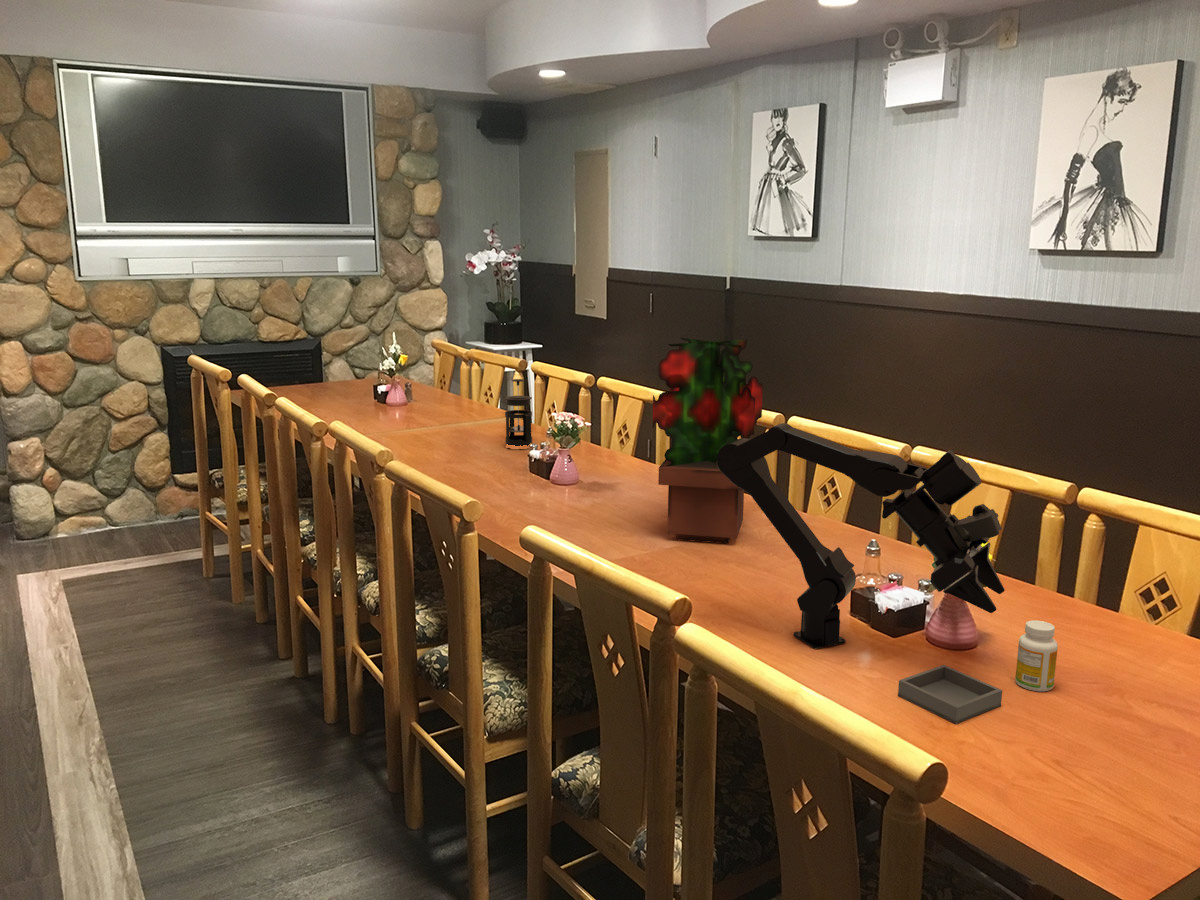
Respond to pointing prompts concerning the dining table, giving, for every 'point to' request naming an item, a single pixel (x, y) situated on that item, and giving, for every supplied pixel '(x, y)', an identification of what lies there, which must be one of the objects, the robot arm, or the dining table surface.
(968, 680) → the charcoal tray
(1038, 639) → the supplement bottle
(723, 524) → the potted plant
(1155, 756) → the dining table surface
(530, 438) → the french press
